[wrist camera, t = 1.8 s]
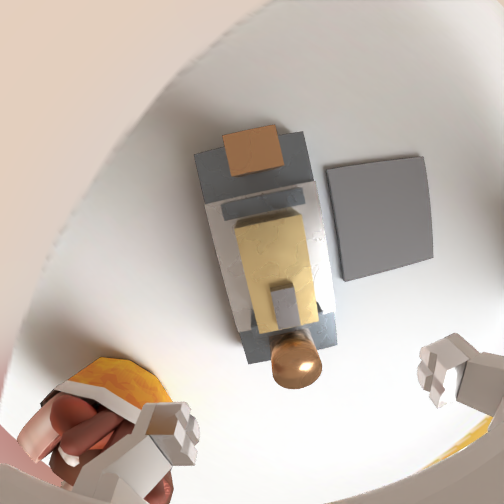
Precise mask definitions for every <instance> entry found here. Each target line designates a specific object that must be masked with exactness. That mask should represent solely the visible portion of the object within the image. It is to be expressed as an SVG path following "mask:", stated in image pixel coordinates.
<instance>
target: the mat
mask: <svg viewBox="0 0 504 504" xmlns="http://www.w3.org/2000/svg"><path fill="white" fill-rule="evenodd" d="M326 174H327V179H328V184H329V189H330V194H331V200H332V206H333V211H334V217H335V224H336V230H337V237H338V243H339V251H340V258H341V266H342V274H343V280H344V281H345V282H346V281H350V280H354V279H358V278H362V277H366V276H370V275H374V274H378V273H381V272H385V271H389V270H392V269H396V268H400V267H403V266H407V265H410V264H414V263H417V262H421V261H424V260H427V259H431V258H433V236H432V220H431V208H430V198H429V189H428V182H427V175H426V168H425V162H424V157H413V158H404V159H396V160H388V161H380V162H372V163H365V164H358V165H352V166H345V167H339V168H333V169H327V170H326Z"/></svg>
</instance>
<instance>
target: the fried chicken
mask: <svg viewBox="0 0 504 504" xmlns="http://www.w3.org/2000/svg"><path fill="white" fill-rule="evenodd" d="M159 402H173V401H172V400H171V398H170V397H169V395H168V394H167V392H166V391H165V389H164V388H163V386H162V385H161V383H160V382H159V380H158V378H157V377H156V376H155V375H153V374H152V373H150V372H148V371H147V370H145V369H143V368H142V367H140V366H138V365H137V364H135V363H134V362H132V361H130V360H123V359H114V358H105V357H100V358H99V359H97V360H96V361H94V362H93V363H91V364H90V365H89V366H87V367H86V368H84V369H83V370H81V371H80V372H78V373H77V374H76V375H74V376H73V377H71V378H70V379H68V380H67V381H65V382H64V383H63V384H60V385H58V386H57V387H56V388H54V389H53V390H52V391H51V392H50V393H49V394H48V395H47V396H46V398H45V399H44V400H43V401H42V402H41V403H40V404H41V407H42V408H41V409H40V410H39V411H38V412H37V413H36V414H35V415H34V416H33V417H32V418H31V419H30V420H29V421H28V423H27V424H26V425H25V426H24V427H23V429H22V430H21V432H20V433H19V435H18V438H17V442H18V443H19V444H20V446H21V447H22V448H23V449H24V451H25V452H26V453H27V455H28V456H29V457H30V458H31V459H32V460H33V462H34V463H37V462H39V461H40V460H42V459H43V458H44V457H46V456H47V455H48V454H49V453H51V452H52V451H53V452H52V455H51V459H50V462H49V465H50V467H51V469H52V471H53V472H54V473H55V474H56V475H57V476H59V477H60V478H61V479H63V480H64V481H63V482H61V483H62V486H61V487H60V488H63V489H66V490H69V491H72V488H73V486H74V484H75V482H76V480H77V478H78V475H79V473H80V471H81V469H82V467H83V466H84V465H85V464H87V463H88V462H90V461H91V460H93V459H94V458H96V457H97V456H98V455H100V454H101V453H103V452H104V451H105V450H107V449H108V448H110V447H111V446H112V445H114V444H115V443H116V442H118V441H119V440H121V439H122V438H123V437H125V436H126V435H127V434H132V431H133V429H134V426H135V424H136V422H137V419H138V417H139V414H140V412H141V410H142V407H143V405H144V404H146V403H159ZM172 467H173V466H172ZM171 469H172V468H171ZM171 469H170V470H169V471H168V472H167V473H166V475H165V476H164V477H163V478H162V479H161V480H160V481H159V482H158V483H157V485H156V486H155V487H154V488H153V489H152V490H151V491H150V492H149V493H148V494H147V495H146V496H145V497H144V498H143V499H144V500H145V501H147V502H148V503H149V504H169V503H170V500H171V497H172V493H173V490H174V488H173V483H172V477H171V472H170V471H171Z"/></svg>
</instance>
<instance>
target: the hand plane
mask: <svg viewBox="0 0 504 504" xmlns="http://www.w3.org/2000/svg"><path fill="white" fill-rule="evenodd" d="M222 137H223V142H224V146H225V147H222V148H218V149H214V150H210V151H206V152H202V153H198V154H194V157H195V162H196V166H197V171H198V175H199V179H200V184H201V188H202V192H203V196H204V200H205V205H204V206H205V210H206V214H207V218H208V222H209V226H210V230H211V234H212V238H213V242H214V246H215V250H216V254H217V258H218V262H219V265H220V269H221V273H222V277H223V280H224V284H225V288H226V292H227V295H228V299H229V302H230V306H231V310H232V313H233V317H234V320H235V324H236V327H237V331H238V332H239V334H240V337H241V341H242V344H243V348H244V351H245V354H246V358H247V361H248V364H252V363H258V362H263V361H269V360H271V363H272V372H273V378H274V380H275V381H276V383H278V384H279V385H280V386H282V387H284V388H288V389H300V388H304V387H306V386H309V385H310V384H312V383H313V382H315V381H316V380H317V379H318V377H319V376H320V374H321V371H322V363H321V360H320V358H319V355H318V352H317V350H319V349H323V348H327V347H331V346H335V345H337V335H336V324H335V315H334V312H335V302H334V293H333V285H332V278H331V270H330V263H329V256H328V249H327V243H326V236H325V230H324V224H323V218H322V213H321V207H320V202H319V196H318V191H317V186H316V181H314V179H313V174H312V170H311V165H310V160H309V156H308V151H307V147H306V142H305V138H304V134H303V131H302V132H296V133H290V134H284V135H277V131H276V127H275V125H269V126H264V127H259V128H254V129H249V130H245V131H240V132H236V133H231V134H227V135H223V136H222ZM292 208H293V209H294V210H296V211H297V212H299V213H300V214H302V220H303V225H304V230H305V236H306V241H307V247H308V253H309V259H310V265H311V271H312V277H313V284H314V290H315V297H316V304H317V311H318V318H319V321H317V322H313V323H309V324H304V325H300V326H296V327H291V328H286V329H282V330H277V331H272V332H267V333H262V334H260V333H259V329H258V325H257V321H256V317H255V313H254V309H253V305H252V301H251V297H250V293H249V289H248V285H247V281H246V277H245V272H244V268H243V264H242V260H241V256H240V252H239V248H238V243H237V239H236V235H235V231H234V228H235V225H236V222H237V220H241V219H245V218H250V217H254V216H259V215H264V214H268V213H273V212H278V211H283V210H287V209H292Z"/></svg>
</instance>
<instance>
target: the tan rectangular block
mask: <svg viewBox="0 0 504 504" xmlns="http://www.w3.org/2000/svg"><path fill="white" fill-rule="evenodd" d="M234 231H235V235H236V239H237V243H238V248H239V252H240V256H241V260H242V264H243V268H244V272H245V277H246V281H247V285H248V289H249V293H250V297H251V301H252V305H253V309H254V313H255V317H256V321H257V325H258V329H259V333H260V334H262V333H267V332H272V331H277V330H282V329H286V328H291V327H296V326H300V325H304V324H309V323H313V322H317V321H319V318H318V311H317V304H316V297H315V290H314V284H313V277H312V271H311V265H310V259H309V253H308V247H307V241H306V236H305V230H304V225H303V220H302V214H300V213H299V212H297V211H296V210H294V209H293V208H292V209H287V210H283V211H278V212H273V213H268V214H264V215H259V216H254V217H250V218H245V219H241V220H237V222H236V225H235V228H234Z"/></svg>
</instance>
